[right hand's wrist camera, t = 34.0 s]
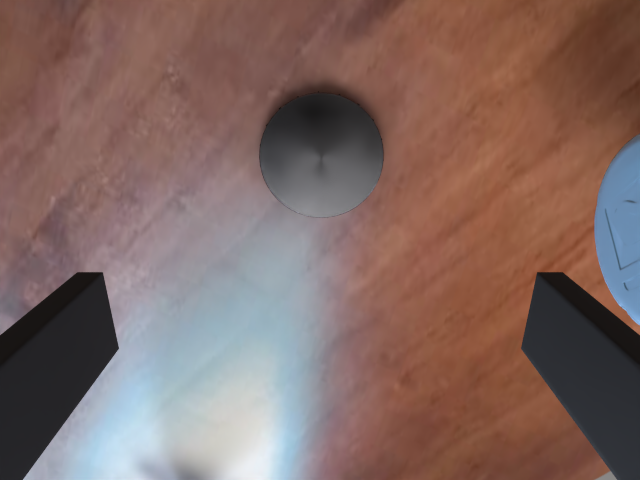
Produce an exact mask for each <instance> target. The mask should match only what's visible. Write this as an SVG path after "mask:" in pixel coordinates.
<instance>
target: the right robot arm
mask: <svg viewBox="0 0 640 480" xmlns="http://www.w3.org/2000/svg"><path fill="white" fill-rule="evenodd" d="M118 349H119V347H118V342H117V337H116V333H115V328H114V323H113V319H112V314H111V309H110V304H109V300H108V295H107V290H106V285H105V281H104V276H103V272H77V273H76V274H75V275H74V276H72V277H71V278H70V279H69V280H67V281H66V282H65V283H64V284H63V285H61V286H60V287H59V288H58V289H56V290H55V291H54V292H53V293H52V294H50V295H49V296H48V297H47V298H45V299H44V300H43V301H42V302H41V303H39V304H38V305H37V306H36V307H34V308H33V309H32V310H31V311H29V312H28V313H27V314H26V315H25V316H23V317H22V318H21V319H20V320H18V321H17V322H16V323H15V324H14V325H12V326H11V327H10V328H9V329H7V330H6V331H5V332H4V333H3V334H1V335H0V480H23V479H24V477H25V476H26V474H27V473H28V472H29V470H30V469H31V468H32V466H33V465H34V464H35V462H36V461H37V459H38V458H39V457H40V455H41V454H42V453H43V451H44V450H45V449H46V447H47V446H48V444H49V443H50V442H51V440H52V439H53V438H54V436H55V435H56V434H57V432H58V431H59V429H60V428H61V427H62V425H63V424H64V423H65V421H66V420H67V419H68V417H69V416H70V414H71V413H72V412H73V410H74V409H75V408H76V406H77V405H78V404H79V402H80V401H81V400H82V398H83V397H84V395H85V394H86V393H87V391H88V390H89V389H90V387H91V386H92V385H93V383H94V382H95V380H96V379H97V378H98V376H99V375H100V374H101V372H102V371H103V370H104V368H105V367H106V365H107V364H108V363H109V361H110V360H111V359H112V357H113V356H114V355H115V353H116V352H117V350H118ZM521 349H522V350H523V352H524V353H525V355H526V356H527V357H528V359H529V360H530V361H531V363H532V364H533V365H534V367H535V368H536V370H537V371H538V372H539V374H540V375H541V376H542V378H543V379H544V380H545V382H546V383H547V385H548V386H549V387H550V389H551V390H552V391H553V393H554V394H555V395H556V397H557V398H558V400H559V401H560V402H561V404H562V405H563V406H564V408H565V409H566V410H567V412H568V413H569V415H570V416H571V417H572V419H573V420H574V421H575V423H576V424H577V425H578V427H579V428H580V430H581V431H582V432H583V434H584V435H585V436H586V438H587V439H588V440H589V442H590V443H591V444H592V446H593V447H594V449H595V450H596V451H597V453H598V454H599V455H600V457H601V458H602V459H603V461H604V462H605V464H606V465H607V466H608V468H609V469H610V470H611V472H612V473H613V474H614V476H615V477H616V479H617V480H640V335H639V334H637V333H636V332H635V331H634V330H633V329H631V328H630V327H629V326H628V325H626V324H625V323H624V322H623V321H622V320H620V319H619V318H618V317H617V316H615V315H614V314H613V313H612V312H611V311H609V310H608V309H607V308H606V307H604V306H603V305H602V304H601V303H599V302H598V301H597V300H596V299H595V298H593V297H592V296H591V295H590V294H588V293H587V292H586V291H585V290H584V289H582V288H581V287H580V286H579V285H577V284H576V283H575V282H574V281H573V280H571V279H570V278H569V277H568V276H566V275H565V274H564V273H563V272H537V276H536V281H535V285H534V290H533V295H532V300H531V304H530V309H529V314H528V319H527V323H526V328H525V333H524V337H523V342H522V347H521Z"/></svg>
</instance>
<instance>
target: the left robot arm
mask: <svg viewBox="0 0 640 480" xmlns="http://www.w3.org/2000/svg"><path fill="white" fill-rule="evenodd" d="M595 243H596V250H597V256H598V260H599V264H600V267H601V271H602V274H603V276H604V279H605V281H606V284H607V286H608V288H609V289H610V291H611V293H612V295H613V297H614V298H615V300H616V301H617V303H618V304H619V305H620V306H621V307H622V308H623V309H624V310H626V311H627V313H628V314H629V315H630V317H631V318H632V319H633V320H634V321H635V322H636V323H637V324H639V325H640V134H638V135H637V136H635V137H634V138H632V139H631V140H630V141H628V142H627V143H626V144H625V145H624V146H623V147H622V148H621V149H620V151H619V152H618V153H617V155H616V156H615V157H614V159H613V160H612V162H611V163H610V165H609V167H608V169H607V171H606V173H605V175H604V178H603V180H602V183H601V186H600V189H599V193H598V200H597V207H596V211H595Z"/></svg>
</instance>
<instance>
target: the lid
mask: <svg viewBox="0 0 640 480" xmlns="http://www.w3.org/2000/svg"><path fill="white" fill-rule="evenodd" d="M266 126H267V127H266V129H265V131H264V133H263V137H262V140H261V144H260V156H259V158H260V167H261V171H262V175H263V177H264V180H265V182H266V184H267V186H268V188H269V189H270V191H271V192H272V194H273V195H274V196H275V197H276V198H277V199H278V200H279V201H280V202H281V203H282V204H283V205H285V206H286V207H288V208H289V209H291V210H293V211H295V212H297V213H299V214H302V215H306V216H310V217H319V218H322V217H333V216H337V215H341V214H343V213H346V212H348V211H350V210H352V209H354V208H355V207H357V206H358V205H359V204H361V203H362V202H363V201H364V200H365V199H366V198H367V197H368V196H369V195H370V193H371V192H372V191H373V189H374V187H375V186H376V184H377V182H378V180H379V177H380V174H381V171H382V166H383V161H384V159H383V144H382V139H381V136H380V134H379V131H378V129H377V127H376V125H375V123H374V120H373V119H371V117H370V116H369V115H368V114H367V113H366V112H365V111H364V110H363V109H362V108H361V107H360V106H359V104H358V103H357V104H356V103H355V102H353V101H351V100H349V99H348V98H345V97H343V96H340V94H339V95H337V94H332V93H324V92H322V93H319V92H318V93H311V94H306V95H303V96H300V97H299V96H297V98H296V99H294V100H292V101H290V102H289V103H287V104H286V105H284V106H283V107H282V108H281V107H280V108H279V111H278V112H277V113H276V114H275V115H274V116H273V117H272V119H271V120H270V122H269V123H268V124H267V125H266Z"/></svg>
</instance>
